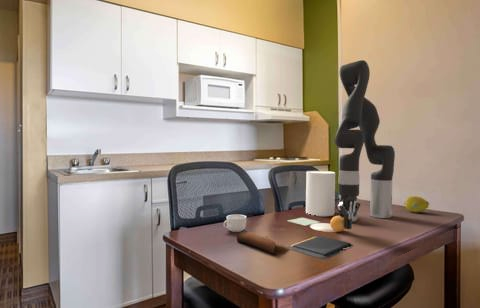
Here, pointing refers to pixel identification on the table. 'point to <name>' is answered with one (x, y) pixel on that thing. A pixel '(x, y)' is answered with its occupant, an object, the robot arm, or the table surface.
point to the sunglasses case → (262, 242)
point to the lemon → (416, 204)
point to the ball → (337, 223)
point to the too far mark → (303, 221)
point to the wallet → (320, 247)
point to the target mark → (322, 227)
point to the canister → (320, 193)
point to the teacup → (235, 223)
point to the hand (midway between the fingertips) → (347, 228)
